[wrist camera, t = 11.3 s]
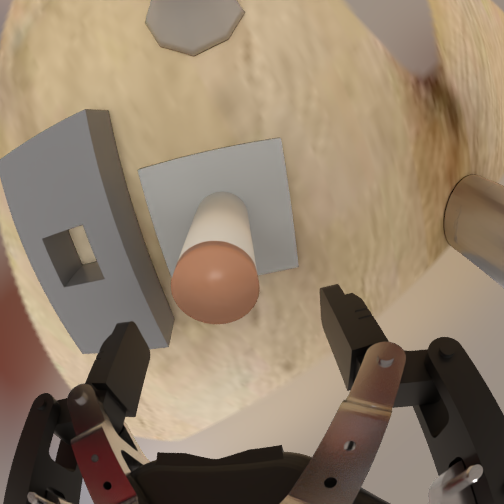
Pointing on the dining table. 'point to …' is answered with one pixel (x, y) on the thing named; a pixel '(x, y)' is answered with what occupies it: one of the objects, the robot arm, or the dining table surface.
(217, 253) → the plug
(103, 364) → the robot arm
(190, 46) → the flask
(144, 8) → the dining table surface
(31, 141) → the grey socket block
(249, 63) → the dining table surface
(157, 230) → the mat
